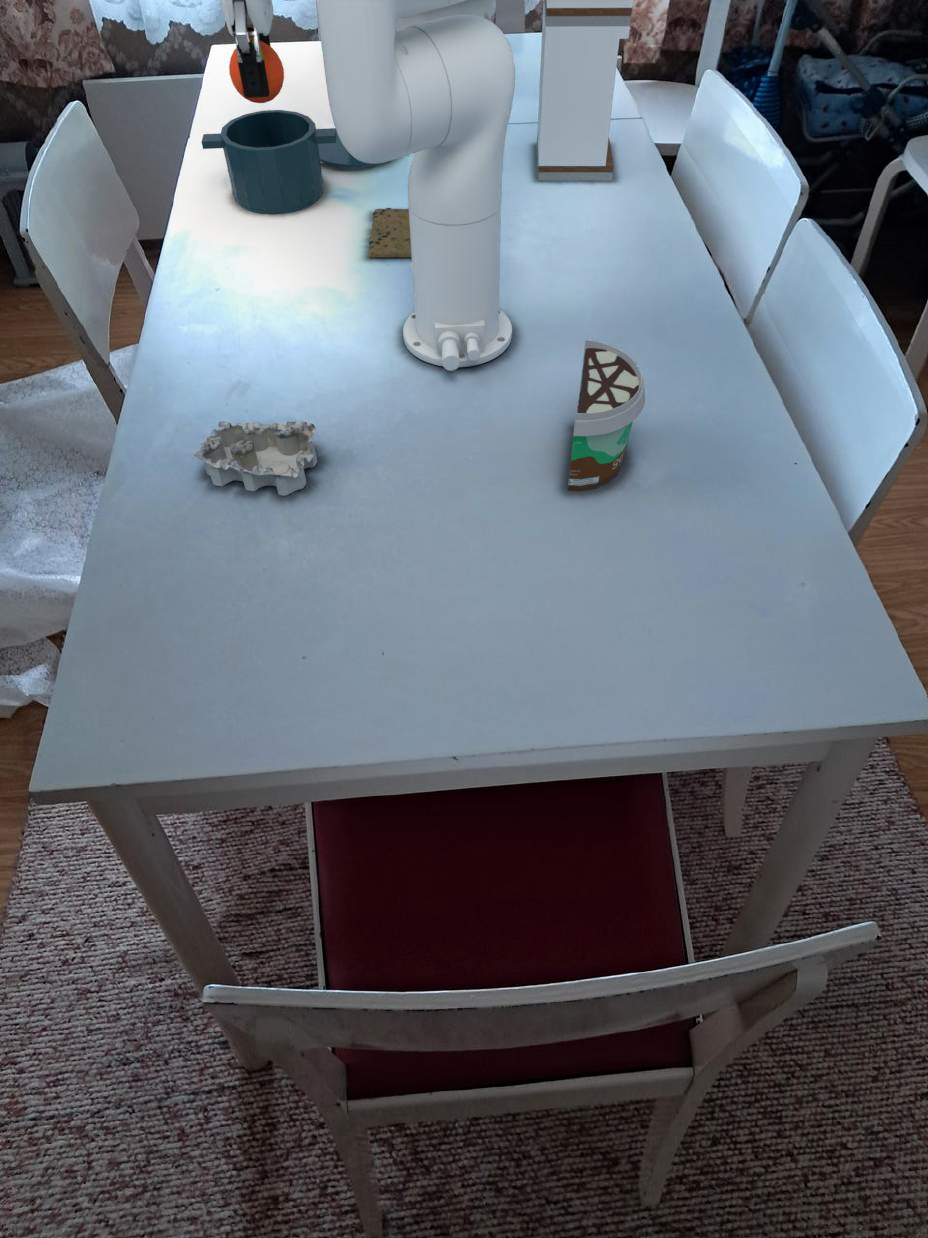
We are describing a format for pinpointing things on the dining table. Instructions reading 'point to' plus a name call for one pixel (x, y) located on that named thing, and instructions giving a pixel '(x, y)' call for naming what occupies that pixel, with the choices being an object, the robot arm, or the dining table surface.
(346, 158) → the pot lid
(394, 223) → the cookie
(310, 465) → the egg carton
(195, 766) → the dining table surface
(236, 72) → the clementine
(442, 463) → the dining table surface
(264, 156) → the pot
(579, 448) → the food container
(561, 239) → the dining table surface
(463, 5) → the soup tureen
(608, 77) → the striped white pillar
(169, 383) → the dining table surface
